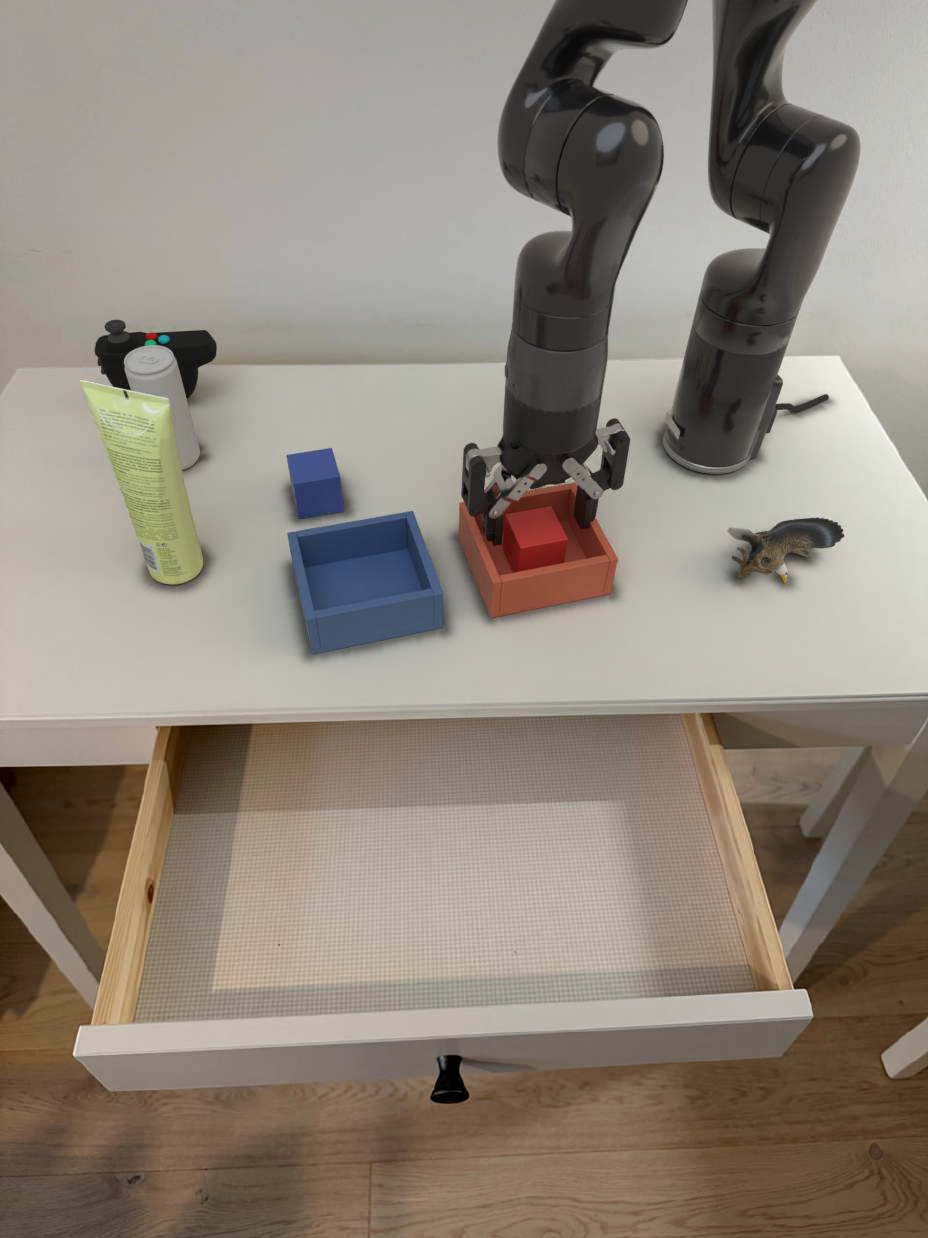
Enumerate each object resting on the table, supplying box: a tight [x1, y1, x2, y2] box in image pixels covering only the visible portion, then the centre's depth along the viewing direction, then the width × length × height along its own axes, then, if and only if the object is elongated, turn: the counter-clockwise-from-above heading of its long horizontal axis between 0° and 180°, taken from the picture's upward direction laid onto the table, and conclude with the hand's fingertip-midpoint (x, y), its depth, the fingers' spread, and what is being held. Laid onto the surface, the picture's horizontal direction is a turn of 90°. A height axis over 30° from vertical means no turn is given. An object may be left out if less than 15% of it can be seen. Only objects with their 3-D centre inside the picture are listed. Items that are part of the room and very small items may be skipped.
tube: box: [79, 379, 204, 585], centre depth 74 cm, size 6×5×20 cm
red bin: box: [457, 481, 619, 619], centre depth 81 cm, size 12×11×5 cm
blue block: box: [285, 447, 345, 520], centre depth 86 cm, size 4×4×4 cm
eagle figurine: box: [727, 516, 845, 584], centre depth 81 cm, size 8×7×9 cm
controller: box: [94, 319, 218, 400], centre depth 94 cm, size 4×12×10 cm, turn 100°
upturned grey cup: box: [124, 345, 201, 471], centre depth 87 cm, size 5×5×12 cm
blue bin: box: [286, 510, 444, 655], centre depth 78 cm, size 12×11×5 cm
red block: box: [503, 506, 568, 573], centre depth 80 cm, size 4×4×4 cm
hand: (538, 530), depth 79 cm, fingers open, 8 cm apart
